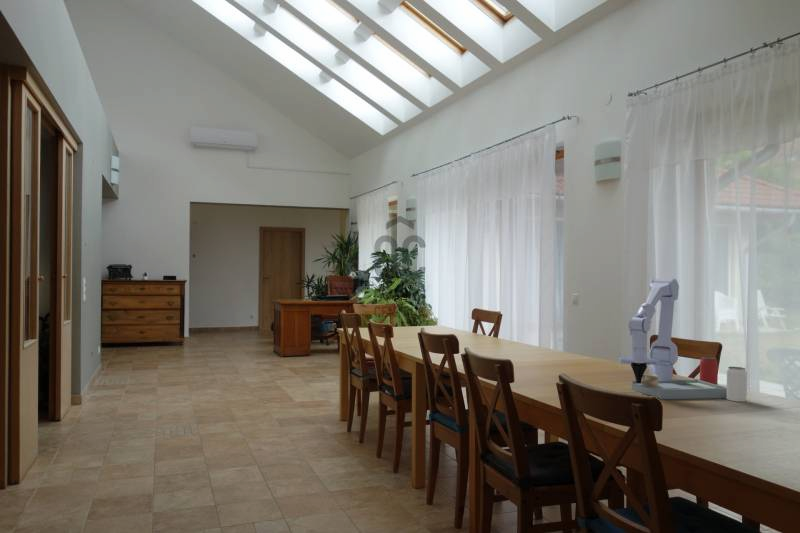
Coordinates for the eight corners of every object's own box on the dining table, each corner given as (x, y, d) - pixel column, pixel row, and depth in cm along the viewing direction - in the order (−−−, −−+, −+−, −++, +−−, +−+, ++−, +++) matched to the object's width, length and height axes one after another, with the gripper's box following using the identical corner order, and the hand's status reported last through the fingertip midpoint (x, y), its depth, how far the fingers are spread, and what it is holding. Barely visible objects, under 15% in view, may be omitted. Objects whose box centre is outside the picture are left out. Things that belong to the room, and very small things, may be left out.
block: (644, 386, 239) (644, 376, 239) (641, 384, 244) (641, 373, 244) (658, 387, 238) (658, 376, 238) (654, 384, 243) (654, 374, 243)
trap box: (631, 389, 246) (631, 380, 246) (697, 388, 252) (697, 379, 252) (660, 399, 228) (660, 389, 228) (730, 397, 233) (730, 388, 233)
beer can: (695, 385, 257) (696, 356, 257) (707, 384, 260) (707, 356, 260) (709, 388, 251) (710, 359, 251) (721, 387, 254) (721, 358, 254)
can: (741, 399, 231) (742, 366, 231) (749, 402, 225) (750, 369, 225) (723, 398, 232) (724, 366, 232) (730, 401, 225) (731, 368, 225)
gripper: (621, 348, 239) (621, 383, 239) (661, 349, 237) (660, 385, 237) (618, 346, 246) (617, 380, 246) (656, 347, 244) (655, 382, 244)
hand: (638, 382), depth 242 cm, fingers closed
